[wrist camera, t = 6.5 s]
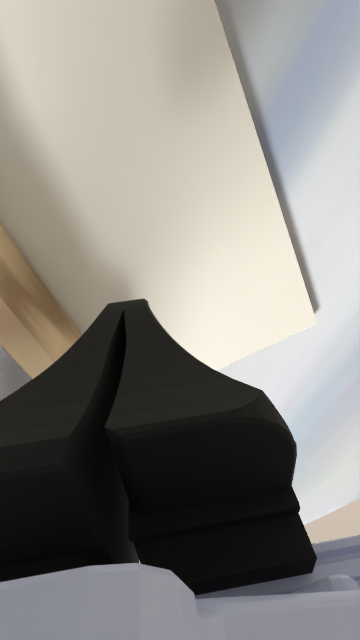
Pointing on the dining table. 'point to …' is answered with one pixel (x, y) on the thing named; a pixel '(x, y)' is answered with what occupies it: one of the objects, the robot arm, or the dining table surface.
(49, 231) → the board
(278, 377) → the dining table surface
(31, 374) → the tan wooden bar
